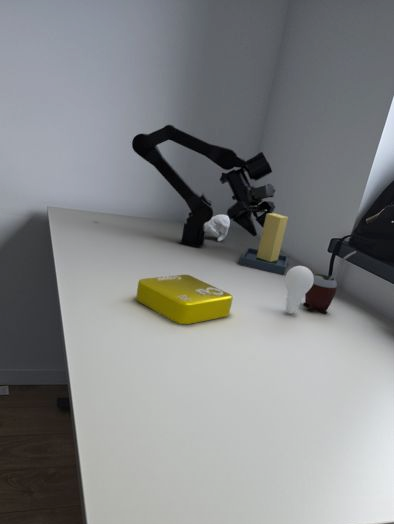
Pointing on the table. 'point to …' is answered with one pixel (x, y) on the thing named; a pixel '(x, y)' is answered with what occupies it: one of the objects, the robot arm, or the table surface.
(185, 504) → the table surface
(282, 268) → the tray
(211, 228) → the white irregular rounded piece
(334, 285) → the mate gourd
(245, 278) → the table surface
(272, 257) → the sponge
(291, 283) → the lightbulb
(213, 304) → the element tile
